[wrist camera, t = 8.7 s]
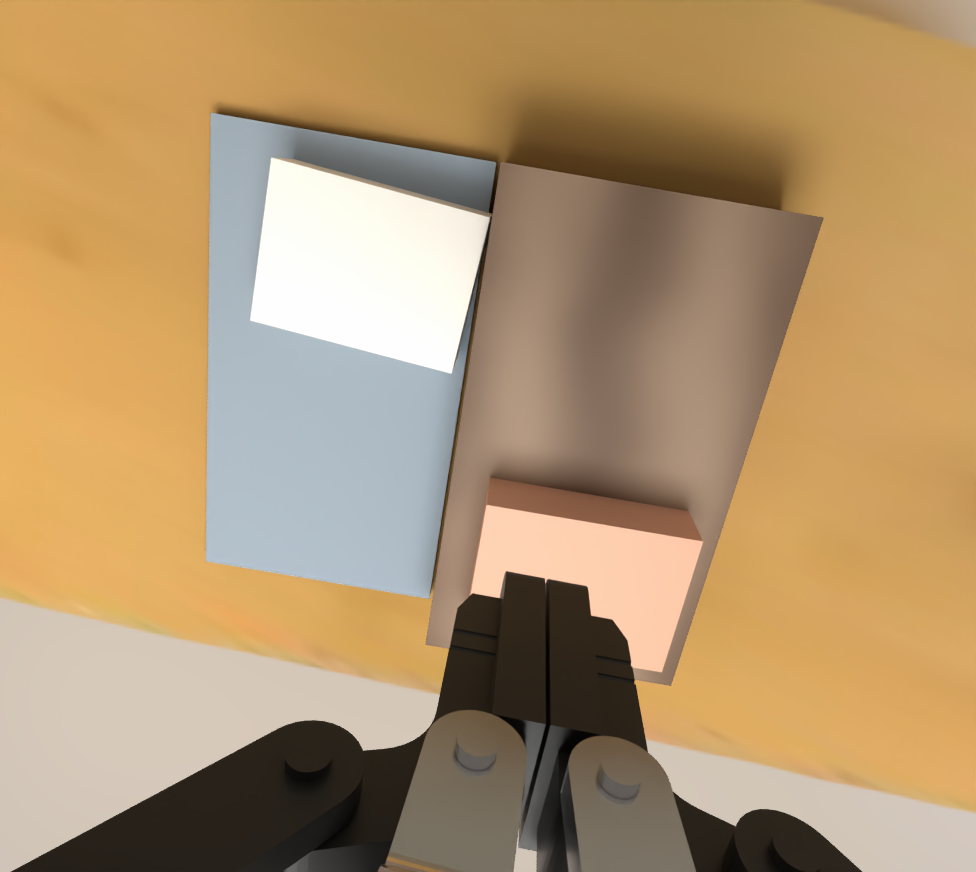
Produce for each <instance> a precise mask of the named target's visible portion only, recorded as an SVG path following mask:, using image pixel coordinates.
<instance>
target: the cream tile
mask: <svg viewBox="0 0 976 872" xmlns="http://www.w3.org/2000/svg"><path fill="white" fill-rule="evenodd" d="M492 215H493V214H491V213H487V212H484V211H480V210H477V209H473V208H469V207H466V206H462V205H458V204H455V203H451V202H448V201H444V200H440V199H437V198H433V197H429V196H426V195H422V194H419V193H415V192H411V191H408V190H404V189H400V188H397V187H393V186H389V185H386V184H382V183H379V182H375V181H371V180H368V179H364V178H360V177H357V176H353V175H350V174H346V173H342V172H339V171H335V170H331V169H328V168H324V167H321V166H317V165H313V164H310V163H306V162H302V161H299V160H295V159H287V158H273V157H271V164H270V171H269V179H268V187H267V194H266V202H265V210H264V218H263V225H262V233H261V241H260V248H259V256H258V264H257V271H256V279H255V287H254V295H253V302H252V310H251V318H250V321H254V322H258V323H262V324H266V325H269V326H273V327H277V328H281V329H284V330H288V331H292V332H296V333H300V334H303V335H307V336H311V337H315V338H318V339H322V340H326V341H330V342H334V343H337V344H341V345H345V346H349V347H352V348H356V349H360V350H364V351H368V352H371V353H375V354H379V355H383V356H386V357H390V358H394V359H398V360H402V361H405V362H409V363H413V364H417V365H420V366H424V367H428V368H432V369H436V370H439V371H443V372H447V373H451V374H452V371H453V368H454V366H455V363H456V360H457V358H458V354H459V349H460V345H461V341H462V337H463V333H464V329H465V325H466V321H467V317H468V313H469V309H470V305H471V301H472V297H473V293H474V289H475V285H476V281H477V277H478V273H479V269H480V265H481V261H482V257H483V253H484V249H485V245H486V241H487V237H488V233H489V229H490V225H491V221H492Z"/></svg>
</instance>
